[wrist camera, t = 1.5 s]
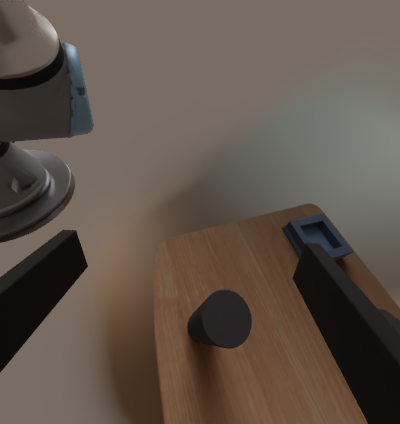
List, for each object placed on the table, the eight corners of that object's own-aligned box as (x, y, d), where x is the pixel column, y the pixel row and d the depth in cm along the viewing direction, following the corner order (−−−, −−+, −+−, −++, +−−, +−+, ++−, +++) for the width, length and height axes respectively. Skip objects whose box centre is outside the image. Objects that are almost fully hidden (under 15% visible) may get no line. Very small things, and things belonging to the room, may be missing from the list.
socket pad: (281, 228, 39) (289, 221, 37) (314, 220, 42) (323, 213, 39) (307, 269, 35) (317, 264, 32) (342, 257, 37) (354, 252, 35)
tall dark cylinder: (185, 315, 28) (196, 296, 15) (209, 308, 29) (240, 284, 16) (190, 346, 26) (209, 356, 13) (217, 337, 27) (260, 338, 14)
